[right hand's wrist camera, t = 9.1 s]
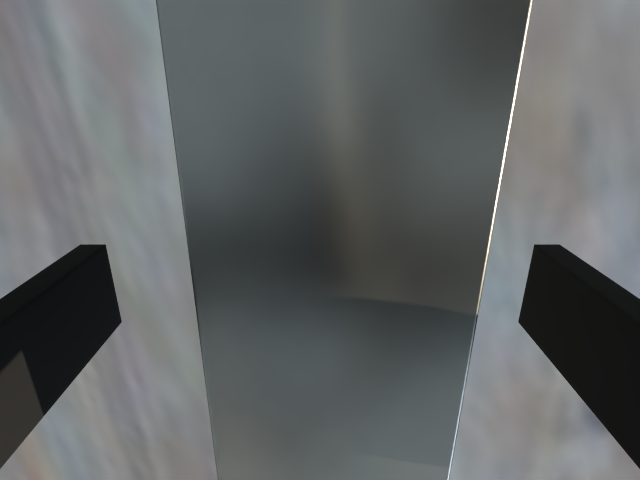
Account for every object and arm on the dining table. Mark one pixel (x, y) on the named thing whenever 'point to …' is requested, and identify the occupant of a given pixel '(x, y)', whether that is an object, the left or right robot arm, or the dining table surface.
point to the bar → (339, 220)
